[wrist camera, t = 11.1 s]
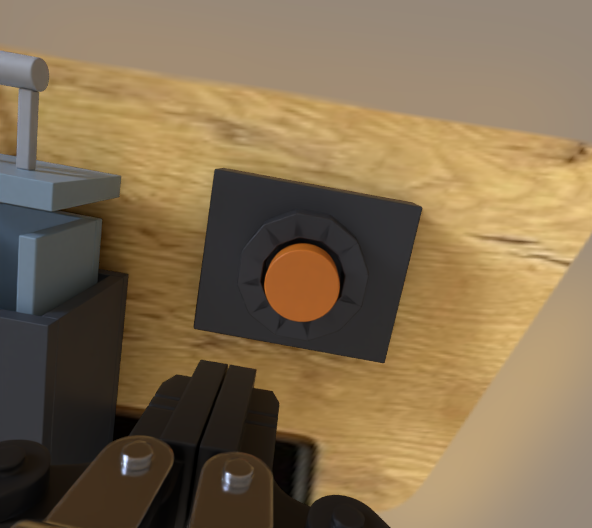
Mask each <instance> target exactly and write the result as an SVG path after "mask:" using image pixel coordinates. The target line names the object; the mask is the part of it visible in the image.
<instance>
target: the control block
mask: <svg viewBox="0 0 592 528" xmlns="http://www.w3.org/2000/svg"><path fill="white" fill-rule="evenodd" d="M421 212H422V207H421V206H419V205H417V204H414V203H412V202H406V201H401V200H395V199H390V198H384V197H379V196H374V195H368V194H363V193H357V192H352V191H346V190H341V189H335V188H330V187H325V186H319V185H314V184H308V183H303V182H297V181H292V180H287V179H281V178H276V177H270V176H265V175H259V174H254V173H249V172H243V171H238V170H232V169H227V168H220V169H215V171H214V179H213V186H212V193H211V201H210V208H209V216H208V223H207V231H206V238H205V246H204V253H203V261H202V268H201V275H200V283H199V290H198V298H197V305H196V313H195V320H194V329H198V330H204V331H209V332H215V333H220V334H226V335H231V336H237V337H242V338H248V339H253V340H259V341H264V342H270V343H275V344H281V345H286V346H292V347H297V348H303V349H308V350H314V351H319V352H325V353H330V354H336V355H341V356H347V357H352V358H358V359H363V360H369V361H374V362H380V363H384V362H385V359H386V355H387V351H388V347H389V342H390V338H391V334H392V330H393V326H394V322H395V318H396V314H397V310H398V306H399V302H400V298H401V293H402V289H403V285H404V281H405V277H406V273H407V269H408V265H409V261H410V257H411V253H412V249H413V244H414V240H415V236H416V232H417V228H418V224H419V220H420V216H421ZM297 243H309V244H313V245H316V246H318V247H320V248H322V249H323V250H325V251H326V252H327V253H328V254H329V255H330V256H331V258H332V259H333V261H334V262H335V265H336V267H337V271H338V276H339V282H340V290H339V295H338V298H337V301H336V303H335V304H334V306H333V307H332V308H331V310H330V311H329V312H328V313H326V314H325V315H324V316H322V317H320V318H318V319H316V320H313V321H308V322H297V321H292V320H289V319H286V318H284V317H283V316H281V315H280V314H278V313H277V312H276V311H275V310H274V309H273V308H272V307H271V305H270V304H269V302H268V300H267V297H266V294H265V289H264V283H265V277H266V273H267V271H268V268H269V266H270V263H271V261H272V260H273V258H274V257H275V255H276V254H277V253H278V252H279V251H281V250H282V249H283V248H285V247H287V246H289V245H292V244H297Z"/></svg>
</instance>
